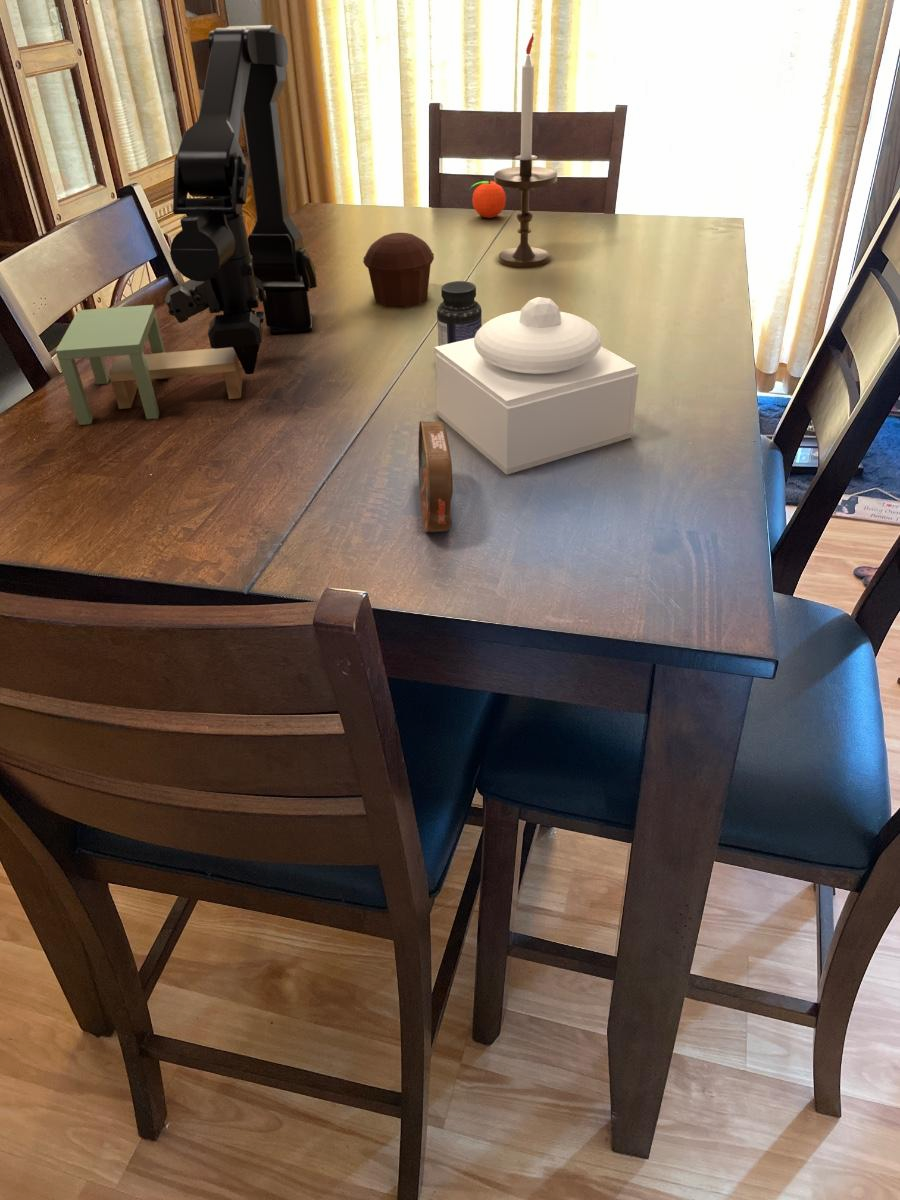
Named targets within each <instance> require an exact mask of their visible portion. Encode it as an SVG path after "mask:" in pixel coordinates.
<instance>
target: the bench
mask: <svg viewBox="0 0 900 1200" xmlns="http://www.w3.org/2000/svg"><path fill="white" fill-rule="evenodd" d="M144 355H145V359H146V362H147V366H148V370H149V374H150V378H151V380H152V379H158V378H164V377H169V378H173V377H185V376H197V375H207V374H208V375H211V374H221V373H223V376H224V380H225V381H224V382H225V386H226V392H227V396H228V400H234V399H241V398H242V390H243V377H242V372H241V366H240V365H241V364H240V361H239V359H238V357H237V355H236V353H235V350H234V348H233V347H230V348H220V349H214V348H204V349H191V350H181V351H169V352H168V351H167V352H165V353H155V354H152V353H146V354H145V353H144ZM108 376H109V380H110V382H111V386H112V389H113V394H114V396H115V399H116V400H115V401H116V403H117V407H118V409H119V410H123V409H132V407H133V403H134V401H135V397H136V394H137V391H138V390H137V389H138V388H137V386H136V383H135V381H136V378H135V374H134V371H133V367H132V363H131V359H130V356H129V355H118V356H115V357H114V359H113V362H112V365H111V368H110V370H109V372H108Z"/></svg>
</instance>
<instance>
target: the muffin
mask: <svg viewBox="0 0 900 1200" xmlns="http://www.w3.org/2000/svg"><path fill="white" fill-rule="evenodd" d="M434 259H435V255H434V253H433V251H432V249H431V247H430V246H429V244H428V243H427V242H426V241H424V240H423V239H421V238H420V237H419V236H417V235H415V234H412V233H409V232H392V233H388V234H385V235H383V236H381V237H379V238H378V239H377V240H375V241H374V242H373V243H371V245H370V246H369V247H368V249H367V251H366V253H365V255H364V257H363V261H362V263H363V265H364V267H366V268H367V270H368V275H369V279H370V284H371V288H372V292H373V296H374V301H375V304H378V305H381V306H383V307H385V308H397V309H405V308H409V307H415V306H419V305H421V304H422V303H424V302H426V301H427V300H428V293H429V284H430V274H431V267H432V266H431V265H432V263H433V261H434Z"/></svg>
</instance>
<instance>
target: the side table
mask: <svg viewBox="0 0 900 1200" xmlns="http://www.w3.org/2000/svg"><path fill="white" fill-rule="evenodd" d="M160 329H161V328H160V325H159V321H158V315H157V312H156V308H155V305H154V304H144V305H129V306H119V307H104V308H91V309H89V308H88V309H78V310H77V311H76V314H75V315H74V316H73V319H72V320H71V323H70V324H69V326H68V327H67V329H66V331H65V333H64V335H63V337H62V338H61V340H60V342H59V343H58V346H57V348H56V349H55V354H56V357H57V360H58V363H59V366H60V369H61V373H62V376H63V379H64V382H65V386H66V388H67V391H68V395H69V397H70V400H71V404H72V407H73V410H74V413H75V416H76V419H77V423H78V426H84V425H85V426H86V425H92V423H93V420H94V418H93V417H94V416H93V415H92V414H93V413H92V411H91V408H90V404H89V402H88V398H87V395H86V392H85V387H84V385H83V382H82V379H81V375H80V372H79V369H78V366H77V362H76V359H88V360H89V363H90V367H91V370H92V375H93V376H94V380H95V384H96V385H106V384H107V385H108V383H109V381H110V375H109V372H108V369H107V366H106V363H105V359H104V357H112V356H113V357H114V356H115V357H116V356H130V359H131V363H132V367H133V371H134V374H135V378H136V380H135V381H136V385H137V386H136V387H137V389H138V392H139V393H138V394H139V396H140V401H141V404H142V408H143V411H144V415H145V419H146V420H154V419H155V420H157V419H159V416H160V410H159V405H158V402H157V399H156V394H155V390H154V386H153V382H152V379H151V378H150V374H149V370H148V366H147V362H146V359H145V355H144V354H145V351H144V348H145V344H146V341H147V339H148V343H149V346H150V350H151V351H150V352H151V354H155V353H166V350H165V345H164V341H163V337H162V333H161V330H160ZM157 379H158V380H165V379H166V380H167V379H170V377H164V378H157Z"/></svg>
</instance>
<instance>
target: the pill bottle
mask: <svg viewBox="0 0 900 1200" xmlns="http://www.w3.org/2000/svg"><path fill="white" fill-rule="evenodd" d="M440 288H441V289H440V296H441V299H442V300H443V301H442V302H441V303H440V304H439V305H438V307H437V308H436V309H437V310H436V320H437V336H438V338H437V342H438V346H441V345H446V344H450V343H454V342H458V341H463V340H467V339H471V338H475V335H476V333H477V331H478V330H479V329H480V328H481V327H482V326H483V325H482V324H483V322H482V319H483V318H482V312H483V311H482V307H481V304H480V303H479V302H478V301H476V300H475V298H476V297H477V286H476V284H474V283H473V282H471V281H467V280H466V281H465V280H456V281H455V280H454V281H450V282H446V283H444V284H442V286H441V287H440Z"/></svg>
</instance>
